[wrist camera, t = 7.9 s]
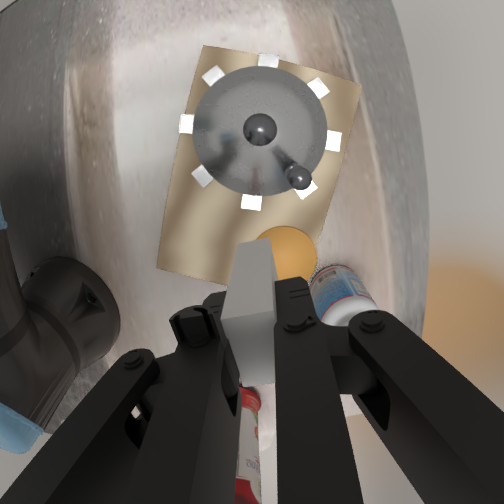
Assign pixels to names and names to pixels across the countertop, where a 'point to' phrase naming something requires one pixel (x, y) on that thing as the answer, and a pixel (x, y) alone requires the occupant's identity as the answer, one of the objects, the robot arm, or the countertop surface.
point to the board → (229, 202)
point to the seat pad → (291, 252)
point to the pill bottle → (339, 296)
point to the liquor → (248, 452)
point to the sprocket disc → (260, 131)
